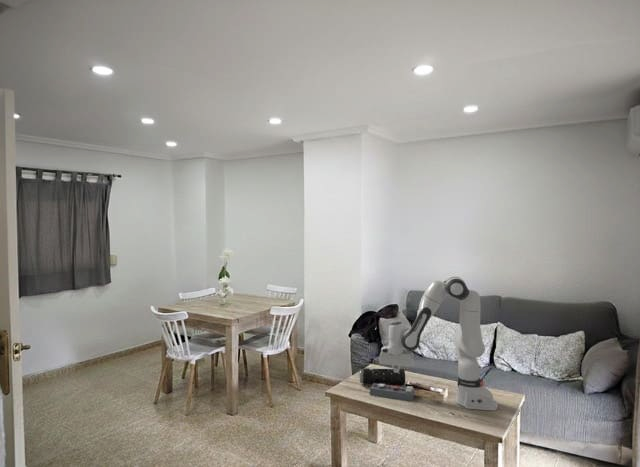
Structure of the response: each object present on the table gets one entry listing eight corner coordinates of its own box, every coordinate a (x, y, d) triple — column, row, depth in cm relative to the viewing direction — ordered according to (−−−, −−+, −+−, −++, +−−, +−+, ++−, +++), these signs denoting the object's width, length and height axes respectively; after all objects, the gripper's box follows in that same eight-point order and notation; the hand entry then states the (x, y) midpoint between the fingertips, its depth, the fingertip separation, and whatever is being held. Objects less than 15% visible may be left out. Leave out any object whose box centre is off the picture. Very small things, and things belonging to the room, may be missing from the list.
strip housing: (414, 395, 245) (414, 388, 245) (412, 401, 237) (412, 394, 237) (373, 389, 254) (373, 382, 254) (369, 394, 246) (369, 388, 246)
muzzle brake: (405, 388, 257) (405, 371, 257) (360, 387, 258) (360, 371, 257) (402, 382, 266) (402, 366, 266) (359, 382, 267) (359, 366, 267)
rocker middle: (398, 387, 246) (398, 386, 246) (397, 388, 242) (397, 387, 242) (393, 387, 247) (393, 385, 248) (391, 387, 243) (391, 386, 243)
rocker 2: (412, 388, 243) (412, 386, 243) (411, 392, 239) (411, 391, 239) (407, 387, 245) (407, 385, 244) (405, 391, 240) (405, 390, 240)
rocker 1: (385, 385, 249) (385, 384, 250) (383, 387, 245) (383, 385, 245) (379, 384, 251) (379, 383, 251) (377, 386, 246) (377, 384, 246)
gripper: (414, 349, 245) (414, 372, 245) (380, 346, 253) (381, 368, 253) (412, 352, 239) (413, 376, 239) (378, 349, 247) (378, 372, 247)
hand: (396, 372), depth 246 cm, fingers closed
